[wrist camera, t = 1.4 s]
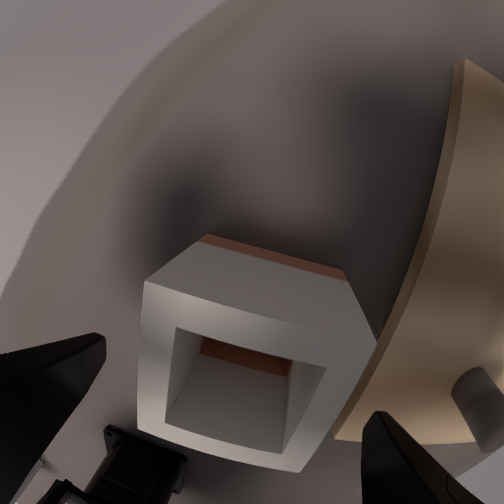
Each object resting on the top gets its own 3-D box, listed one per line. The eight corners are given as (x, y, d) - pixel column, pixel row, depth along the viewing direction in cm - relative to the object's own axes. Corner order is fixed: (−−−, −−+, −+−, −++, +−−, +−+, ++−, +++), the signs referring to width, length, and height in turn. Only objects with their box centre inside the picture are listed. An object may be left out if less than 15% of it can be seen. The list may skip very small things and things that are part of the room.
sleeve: (300, 378, 14) (299, 472, 8) (186, 346, 15) (137, 428, 9) (342, 270, 13) (377, 343, 7) (207, 233, 13) (144, 280, 7)
